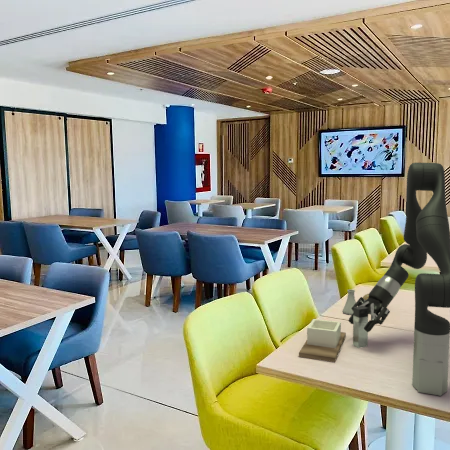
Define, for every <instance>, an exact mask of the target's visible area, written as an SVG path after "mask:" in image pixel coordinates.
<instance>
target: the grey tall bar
mask: <svg viewBox="0 0 450 450" xmlns="http://www.w3.org/2000/svg"><path fill="white" fill-rule="evenodd" d="M368 322H369V314H368V308H367V307H365V306H357V307H354V313H353V324H352V325H353V327H352V346H353V347H356V348H357V349H361V348H365V347H366V348H367V347H368V338H369V336H368V334H369V332H367V331H365V330H364V327H365V326H366V324H367V323H368Z"/></svg>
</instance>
